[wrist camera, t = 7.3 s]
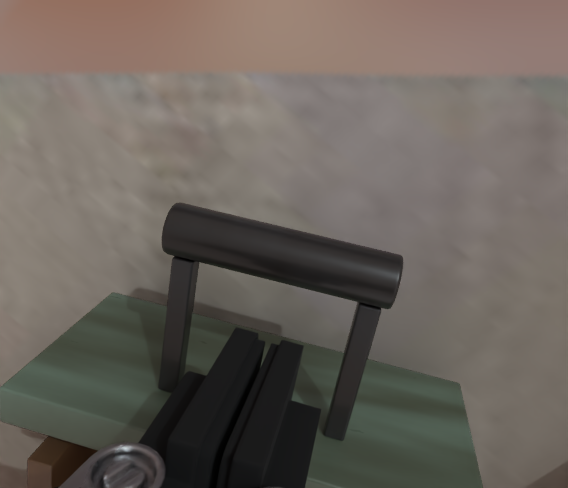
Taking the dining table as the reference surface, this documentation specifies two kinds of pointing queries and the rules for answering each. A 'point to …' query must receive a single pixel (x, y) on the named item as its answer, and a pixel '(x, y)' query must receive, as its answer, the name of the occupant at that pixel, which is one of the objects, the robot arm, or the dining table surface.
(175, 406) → the robot arm
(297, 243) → the drawer
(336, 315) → the dining table surface
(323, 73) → the dining table surface
